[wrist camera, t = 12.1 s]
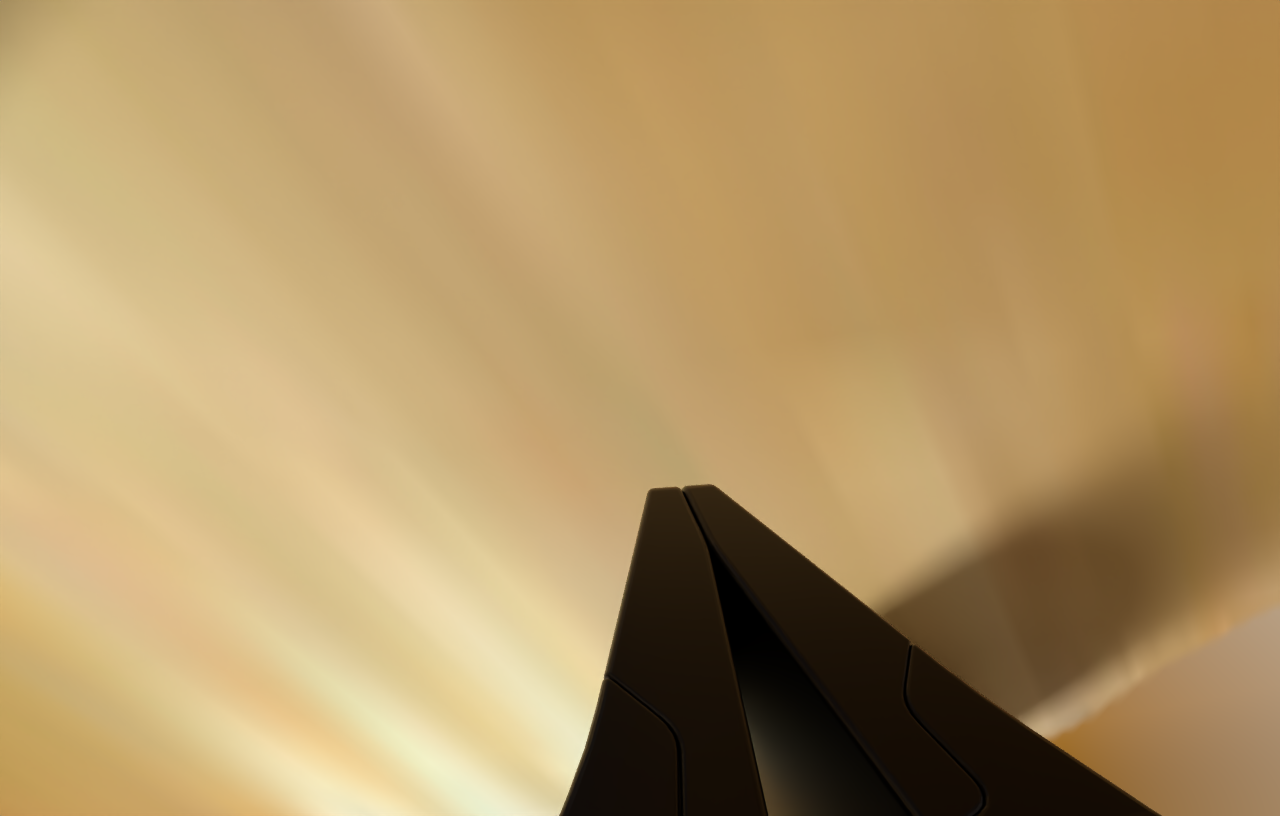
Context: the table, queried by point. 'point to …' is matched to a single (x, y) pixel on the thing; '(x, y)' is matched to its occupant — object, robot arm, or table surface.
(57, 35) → the table surface
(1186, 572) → the table surface
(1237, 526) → the table surface
